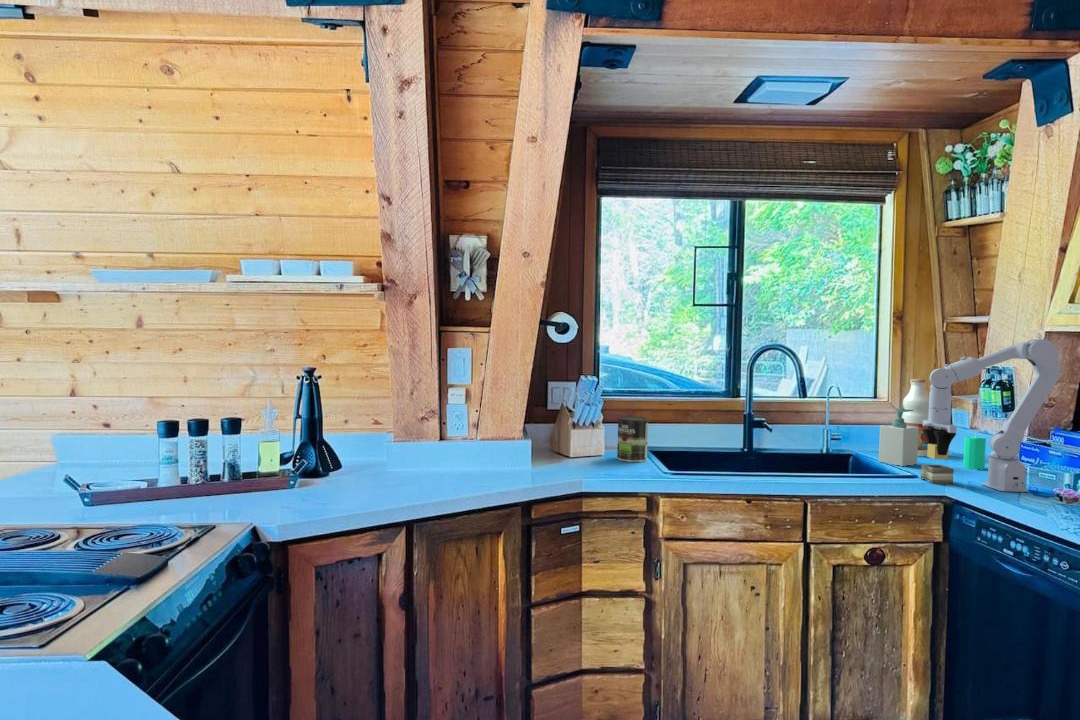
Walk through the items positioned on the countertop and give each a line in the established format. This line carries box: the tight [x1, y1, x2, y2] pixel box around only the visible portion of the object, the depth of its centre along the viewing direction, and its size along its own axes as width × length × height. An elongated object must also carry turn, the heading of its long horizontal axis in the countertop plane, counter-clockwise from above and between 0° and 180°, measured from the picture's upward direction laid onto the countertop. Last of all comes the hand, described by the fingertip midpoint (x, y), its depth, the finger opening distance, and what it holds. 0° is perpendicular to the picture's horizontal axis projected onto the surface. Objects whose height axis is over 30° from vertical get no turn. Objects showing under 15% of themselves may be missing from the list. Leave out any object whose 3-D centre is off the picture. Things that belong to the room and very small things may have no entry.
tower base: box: [920, 463, 955, 485], centre depth 206 cm, size 6×6×4 cm
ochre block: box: [926, 444, 950, 461], centre depth 206 cm, size 4×4×4 cm
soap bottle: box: [878, 407, 919, 467], centre depth 234 cm, size 9×9×19 cm
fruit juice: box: [902, 378, 929, 458], centre depth 252 cm, size 9×9×28 cm
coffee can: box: [616, 416, 650, 463], centre depth 232 cm, size 10×10×14 cm
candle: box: [962, 432, 987, 470], centre depth 228 cm, size 6×6×12 cm
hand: (937, 453), depth 206 cm, fingers closed on ochre block, 4 cm apart
